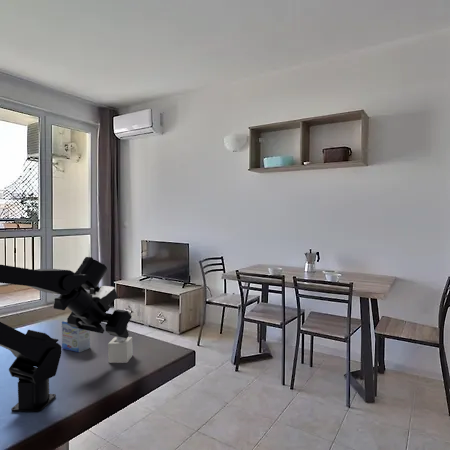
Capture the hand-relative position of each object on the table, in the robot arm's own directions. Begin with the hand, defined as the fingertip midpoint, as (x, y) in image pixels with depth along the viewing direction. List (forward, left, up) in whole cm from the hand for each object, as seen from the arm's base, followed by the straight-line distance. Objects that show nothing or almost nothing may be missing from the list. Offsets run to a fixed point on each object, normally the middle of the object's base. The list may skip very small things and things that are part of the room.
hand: (115, 334), depth 98 cm
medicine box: (+10, +16, -8) cm, 21 cm away
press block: (+2, -1, -8) cm, 8 cm away
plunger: (+2, -1, -7) cm, 8 cm away
